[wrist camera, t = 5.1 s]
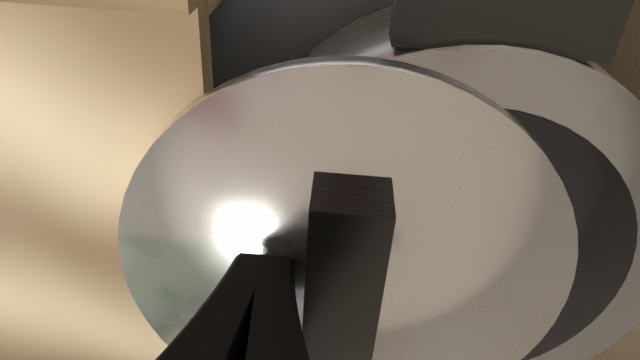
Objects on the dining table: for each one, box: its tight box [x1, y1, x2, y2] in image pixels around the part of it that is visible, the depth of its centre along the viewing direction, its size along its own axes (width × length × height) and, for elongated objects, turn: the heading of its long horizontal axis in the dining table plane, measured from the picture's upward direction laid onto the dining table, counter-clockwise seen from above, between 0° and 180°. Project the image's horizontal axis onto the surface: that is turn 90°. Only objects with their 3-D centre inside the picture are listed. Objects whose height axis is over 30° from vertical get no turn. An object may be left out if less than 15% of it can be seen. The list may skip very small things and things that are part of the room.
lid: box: [118, 56, 578, 360], centre depth 12 cm, size 11×11×2 cm
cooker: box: [305, 0, 640, 360], centre depth 15 cm, size 15×11×4 cm
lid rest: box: [0, 0, 223, 360], centre depth 15 cm, size 13×13×5 cm
